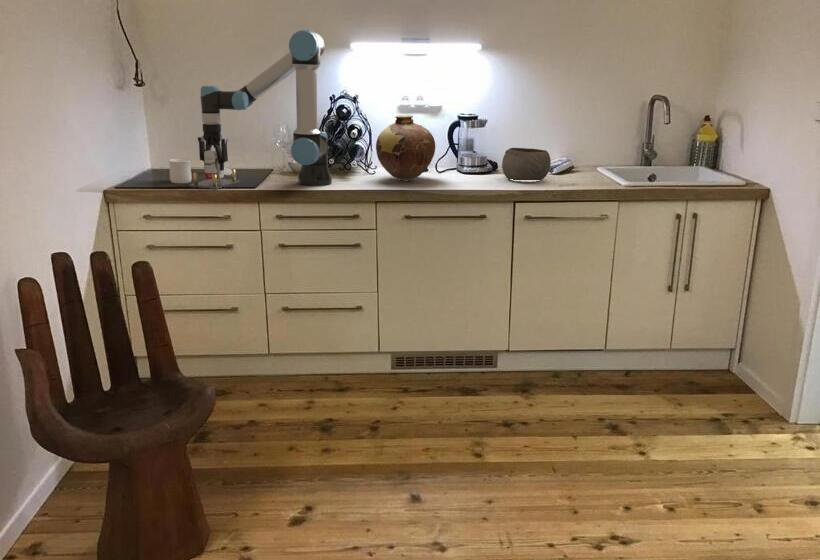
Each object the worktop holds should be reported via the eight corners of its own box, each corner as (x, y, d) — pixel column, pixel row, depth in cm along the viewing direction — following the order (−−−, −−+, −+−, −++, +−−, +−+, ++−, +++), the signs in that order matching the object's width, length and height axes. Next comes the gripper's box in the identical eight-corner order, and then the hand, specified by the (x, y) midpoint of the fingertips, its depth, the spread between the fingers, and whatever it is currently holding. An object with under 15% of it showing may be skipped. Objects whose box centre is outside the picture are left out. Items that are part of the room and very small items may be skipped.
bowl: (559, 182, 331) (562, 150, 327) (526, 186, 318) (529, 153, 313) (523, 175, 349) (525, 145, 344) (491, 179, 335) (493, 147, 330)
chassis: (240, 182, 311) (239, 169, 309) (217, 189, 295) (216, 175, 293) (213, 180, 315) (212, 167, 313) (189, 186, 299) (188, 172, 297)
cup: (179, 184, 304) (177, 162, 301) (164, 182, 309) (162, 160, 306) (196, 181, 312) (195, 159, 309) (181, 179, 317) (180, 157, 314)
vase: (416, 188, 307) (418, 119, 298) (364, 181, 320) (364, 115, 311) (444, 179, 331) (447, 115, 322) (395, 174, 344) (396, 111, 334)
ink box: (215, 179, 299) (213, 152, 296) (205, 179, 300) (203, 151, 297) (224, 176, 307) (223, 149, 304) (214, 176, 308) (212, 149, 305)
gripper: (234, 123, 297) (237, 177, 304) (198, 121, 303) (202, 174, 310) (225, 125, 290) (228, 180, 298) (188, 122, 296) (191, 177, 303)
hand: (214, 177), depth 304 cm, fingers closed on ink box, 5 cm apart
